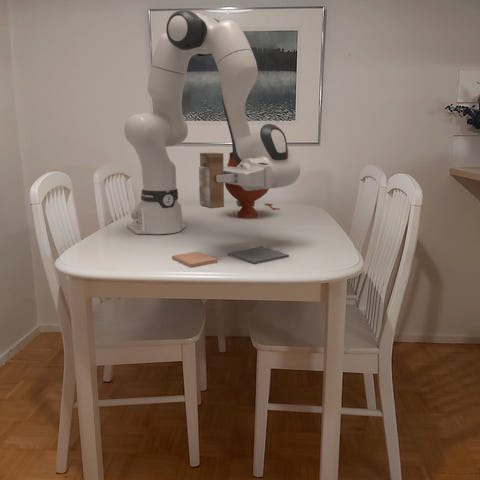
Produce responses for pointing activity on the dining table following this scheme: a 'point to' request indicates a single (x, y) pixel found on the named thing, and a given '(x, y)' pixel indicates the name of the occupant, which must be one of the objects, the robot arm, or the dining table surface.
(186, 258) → the tile
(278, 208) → the key
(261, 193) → the goblet
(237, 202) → the smartphone
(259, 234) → the dining table surface
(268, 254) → the rest mat
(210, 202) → the tall wooden block
